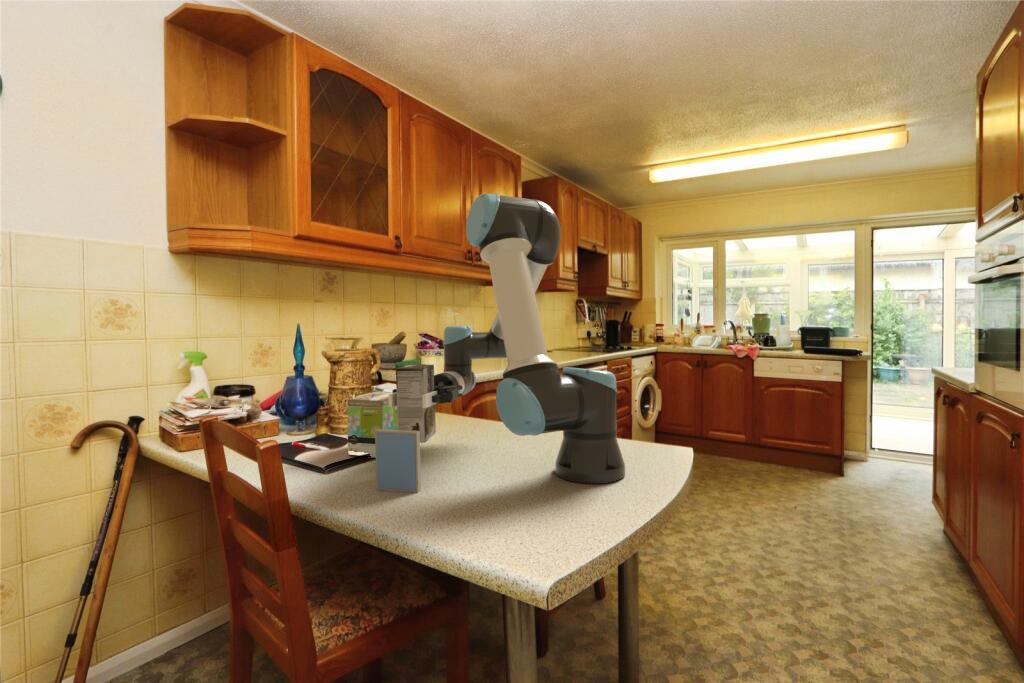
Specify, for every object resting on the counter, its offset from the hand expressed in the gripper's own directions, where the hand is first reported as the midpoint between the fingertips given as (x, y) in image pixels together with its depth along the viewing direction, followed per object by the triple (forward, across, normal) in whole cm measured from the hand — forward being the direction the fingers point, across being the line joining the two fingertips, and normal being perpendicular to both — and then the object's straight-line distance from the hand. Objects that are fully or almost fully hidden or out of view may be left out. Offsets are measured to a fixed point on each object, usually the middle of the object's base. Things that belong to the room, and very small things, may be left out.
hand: (407, 401), depth 103 cm
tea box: (-22, +19, -17) cm, 33 cm away
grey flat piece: (+6, -1, -17) cm, 18 cm away
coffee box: (-5, 0, -9) cm, 10 cm away
